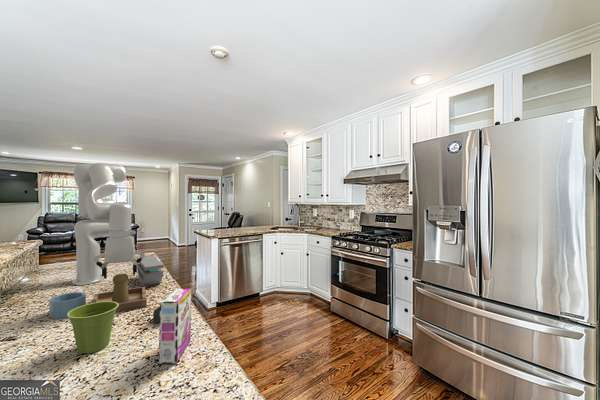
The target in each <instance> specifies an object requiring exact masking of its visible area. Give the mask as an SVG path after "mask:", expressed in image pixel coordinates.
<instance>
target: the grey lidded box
mask: <svg viewBox="0 0 600 400" xmlns="http://www.w3.org/2000/svg"><path fill="white" fill-rule="evenodd" d="M139 257H140V256H138V257H136V260H137V259H139ZM164 265H165V264H163V262H161V261H160V260H159V259H158V258H157V257H156V256H155V255H148V256H146V255H145V256H144V257H143V259H142V261H140V262H139V263H138V265H137V276H138V282H139V281H140V282H139V283H140V285H141V287H142V286H144V287H149V286H154V284H155V285H158V284H159V285H160V284H161V283H162V280H163V277H164V270H163V269H164ZM148 285H149V286H148Z"/></svg>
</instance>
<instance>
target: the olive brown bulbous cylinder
mask: <svg viewBox="0 0 600 400" xmlns="http://www.w3.org/2000/svg"><path fill="white" fill-rule="evenodd" d="M128 280H129V275H128V274H127V273H119V274H115V275H114V276H113V277H112V283H113V290H112V291H113V296H112V302H117V303H124V302H127V301H129V295H128V289H129V288H128Z"/></svg>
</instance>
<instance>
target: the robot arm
mask: <svg viewBox="0 0 600 400" xmlns="http://www.w3.org/2000/svg"><path fill="white" fill-rule="evenodd" d="M73 178H74V182H75V183H76V186H77V190H78V194H77V195H78V199H77V200H78V201H77V203H78V204H77V205H78V207H77V209H78V215H80V217H83V218H89V219H83V220H78V221H77V222H76V223H74V226H73V231H74V235H75V236H74V237H75V244H76V250H75V251H76V255H75V256H76V259H75V260H76V262H75V263H76V269H75V271H76V273H75V274H76V275H75V277H76V278H75V279H73V280H72V281H71V284H72V285H74V286H85V285H91V284H96V283H100V282H102V281H103V280H104V279H107V277H108V273H107V272H108V267H107V266H108V265H109V264H116V263H117V264H118V263H128V262H131V263H132V275H133V276H135V275H136V273H138V270H137V265H138V264H139V262H140V261H142V259H143V257H145V256H146V254H145V253H144V252H142V251H139V250H136V246H135V245H136V243H135V237H134V236H133V235H135V234H136V230H133V229H132V214H133V213H132V210H133V209H132V206H131V204H129V203H125V202H116V201H115V200H114V199H112V198H107V197H109V196H112V195H113V194H115V193H116V192H117V190H118V184H117V183H123V182H124V181H125V180H126V179H127V171H126V168H125V166H123V165H121V164H117V163H106V162H96V163H95V162H94V163H92V164H89V163H83V164H82V163H79V164H77V165H75V166H74V168H73ZM97 238H98V239H99V238H106V240H105V245H104V252H103V253H101V245H100V243H99V242H97V241H96V240H95V239H97ZM136 255H138V257H139V259H137V258H136V259H135V257H136ZM103 257H104V262H102V261H101V259H102V258H103Z"/></svg>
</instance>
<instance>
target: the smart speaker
mask: <svg viewBox="0 0 600 400" xmlns="http://www.w3.org/2000/svg"><path fill="white" fill-rule="evenodd" d="M152 313H153V314H152V319H153V322H154V323H156V324H159V325H160V306H158V307H156V308H155V309H154V310H153V312H152Z"/></svg>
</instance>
